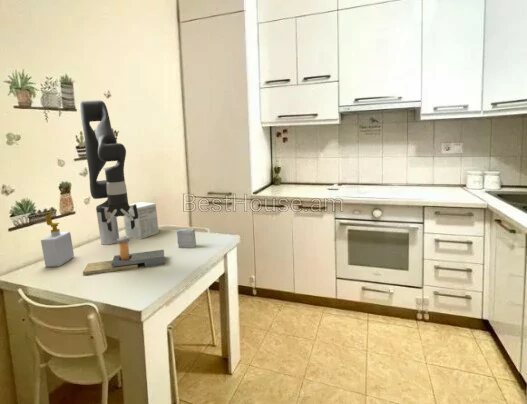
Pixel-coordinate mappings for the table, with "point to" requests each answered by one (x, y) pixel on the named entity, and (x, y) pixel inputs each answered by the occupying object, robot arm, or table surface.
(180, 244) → the medicine box
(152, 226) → the supplement box
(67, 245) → the soap bottle
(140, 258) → the wooden plank with frame
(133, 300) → the table surface
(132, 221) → the robot arm
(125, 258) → the pin
